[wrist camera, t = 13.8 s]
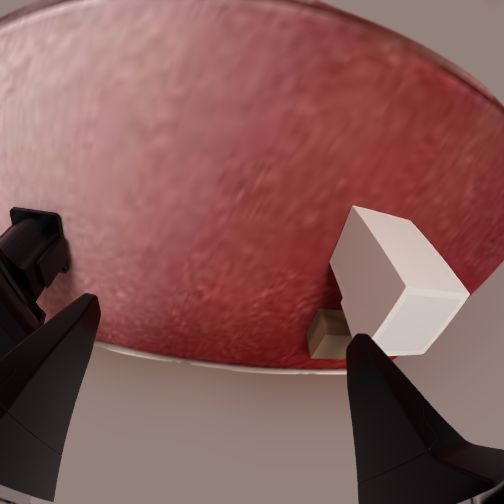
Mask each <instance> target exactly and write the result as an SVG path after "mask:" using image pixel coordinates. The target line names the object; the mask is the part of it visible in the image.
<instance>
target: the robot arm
mask: <svg viewBox="0 0 504 504" xmlns="http://www.w3.org/2000/svg"><path fill="white" fill-rule="evenodd" d="M10 217H11V221H12V225H11V226H10V227H9V228H8V229H7V230H6V231H5V232H4V233H3V234H2V235H1V236H0V504H30V500H31V496H33V497H37V498H40V499H43V500H47V501H51V502H53V501H54V496H55V489H56V483H57V478H58V472H59V467H60V461H61V457H62V456H61V455H62V452H63V448H64V443H65V439H66V435H67V431H68V427H69V424H70V419H71V416H72V413H73V409H74V406H75V402H76V399H77V395H78V392H79V389H80V386H81V383H82V380H83V377H84V374H85V371H86V368H87V365H88V362H89V359H90V356H91V352H92V348H93V344H94V340H95V336H96V332H97V329H98V325H99V321H100V317H101V311H100V306H99V301H98V297H97V296H96V295H94V294H90V293H85V294H83V295H82V296H80V297H79V298H78V299H76V300H75V301H74V302H72V303H71V304H70V305H68V306H67V307H66V308H64V309H63V310H62V311H60V312H59V313H58V314H57V315H55V316H54V317H53V318H51V319H50V320H49V321H47V322H46V323H45V324H44V321H45V317H46V314H45V312H44V311H43V310H41V308H40V307H39V306H38V304H37V303H36V301H37V299H38V297H39V296H40V294H41V293H42V291H43V290H44V288H45V287H46V288H48V287H49V286H50V285H51V283H52V281H53V280H54V279H55V277H56V276H57V274H58V273H59V272H60V273H65V274H66V273H67V272H68V271H69V265H68V260H67V254H66V249H65V243H64V238H63V233H62V227H61V220H60V216H59V215H58V214H57V213H53V212H46V211H39V210H32V209H25V208H17V207H13V208H12V209H11V210H10ZM54 218H55V219H56V220H55V219H54ZM64 268H65V269H64ZM43 324H44V325H43ZM346 364H347V386H348V395H349V402H350V409H351V418H352V426H353V436H354V444H355V456H356V467H357V481H358V500H359V504H504V450H502V449H496V448H489V447H484V446H479V445H475V444H472V443H470V442H468V441H466V440H465V439H464V438H463V437H462V436H461V435H460V434H459V433H458V432H456V431H455V430H454V428H452V427H451V426H450V425H449V424H448V423H447V422H446V421H445V420H444V419H443V418H442V417H441V415H440V414H438V412H437V411H436V410H435V409H434V408H433V407H432V406H431V405H430V403H429V402H428V401H427V400H426V399H425V398H424V396H423V395H422V394H421V393H420V392H419V391H418V390H417V388H416V387H415V386H414V385H413V384H412V383H411V382H410V380H409V379H408V378H407V377H406V376H405V375H404V374H403V373H402V371H401V370H400V369H399V368H398V367H397V366H396V365H395V364H394V362H393V361H392V360H391V359H390V358H389V357H388V356H387V355H386V353H385V352H384V351H383V350H382V349H381V348H380V347H379V346H378V345H377V344H376V342H375V341H374V340H373V339H372V338H371V337H370V336H369V335H368V334H366V333H357V334H356V335H355V336H354V338H353V339H352V340H351V342H350V343H349V345H348V346H347V349H346Z"/></svg>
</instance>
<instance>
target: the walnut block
mask: <svg viewBox="0 0 504 504" xmlns="http://www.w3.org/2000/svg"><path fill="white" fill-rule="evenodd" d="M306 336H307V341H308V346H309V351H310V357H311V358H318V359H344V358H345V357H346V349H347V346H348V345H349V343H350V342H351V340H352V339H353V338H352V335H351V332H350V329H349V326H348V323H347V320H346V317H345V314H344V311H343V310H333V309H323V308H318V310H317V312H316V314H315V316H314V318H313V320H312V322H311V324H310V326H309V327H308V329H307V331H306Z"/></svg>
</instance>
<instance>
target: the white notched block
mask: <svg viewBox="0 0 504 504" xmlns="http://www.w3.org/2000/svg"><path fill="white" fill-rule="evenodd" d="M329 262H330V265H331V267H332V270H333V272H334V275H335V278H336V280H337V283H338V286H339V288H340V291H341V294H342V296H343V299H342V301H341V305H342V308H343V311H344V314H345V317H346V320H347V323H348V326H349V329H350V332H351V335H352V338H354V336H355V335H356V334H357V333H366V334H368V335H369V336H370V337H371V338H372V339H373V340H374V341H375V342H376V344H377V345H378V346H379V347H380V348H381V349H382V350H383V351H384V352H385V353H386V355H387V356H399V355H417V354H424V353H425V351H426V350H427V349H428V348H429V346H431V345H432V343H433V342H434V341H435V340H436V339H437V337H438V336H439V335H440V334H441V332H442V331H443V330H444V329H445V327H446V326H447V325H448V324H449V322H450V321H451V320H452V319H453V317H454V316H455V315H456V313H457V312H458V311H459V309H460V308H461V306H462V305H463V304H464V302H465V301H466V299H467V298H468V297H469V295H470V294H469V293H468V291H467V290H466V288H465V287H464V286H463V284H462V283H461V282H460V280H459V279H458V277H457V276H456V275H455V274H454V272H453V271H452V270H451V268H450V267H449V266H448V264H447V263H446V262H445V261H444V259H443V258H442V257H441V256H440V254H439V253H438V252H437V251H436V250H435V248H434V247H433V246H432V245H431V244H430V242H429V241H428V240H427V239H426V238H425V237H424V235H423V234H422V233H421V232H420V231H419V230H418V229H417V228H416V226H415V225H414V224H413V223H412V222H411V221H410V220H406V219H403V218H399V217H396V216H392V215H388V214H385V213H381V212H377V211H373V210H369V209H366V208H362V207H358V206H354V205H352V207H351V210H350V213H349V215H348V218H347V220H346V223H345V225H344V228H343V230H342V233H341V235H340V238H339V240H338V242H337V245H336V247H335V250H334V252H333V254H332V257H331V259H330V261H329Z"/></svg>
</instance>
